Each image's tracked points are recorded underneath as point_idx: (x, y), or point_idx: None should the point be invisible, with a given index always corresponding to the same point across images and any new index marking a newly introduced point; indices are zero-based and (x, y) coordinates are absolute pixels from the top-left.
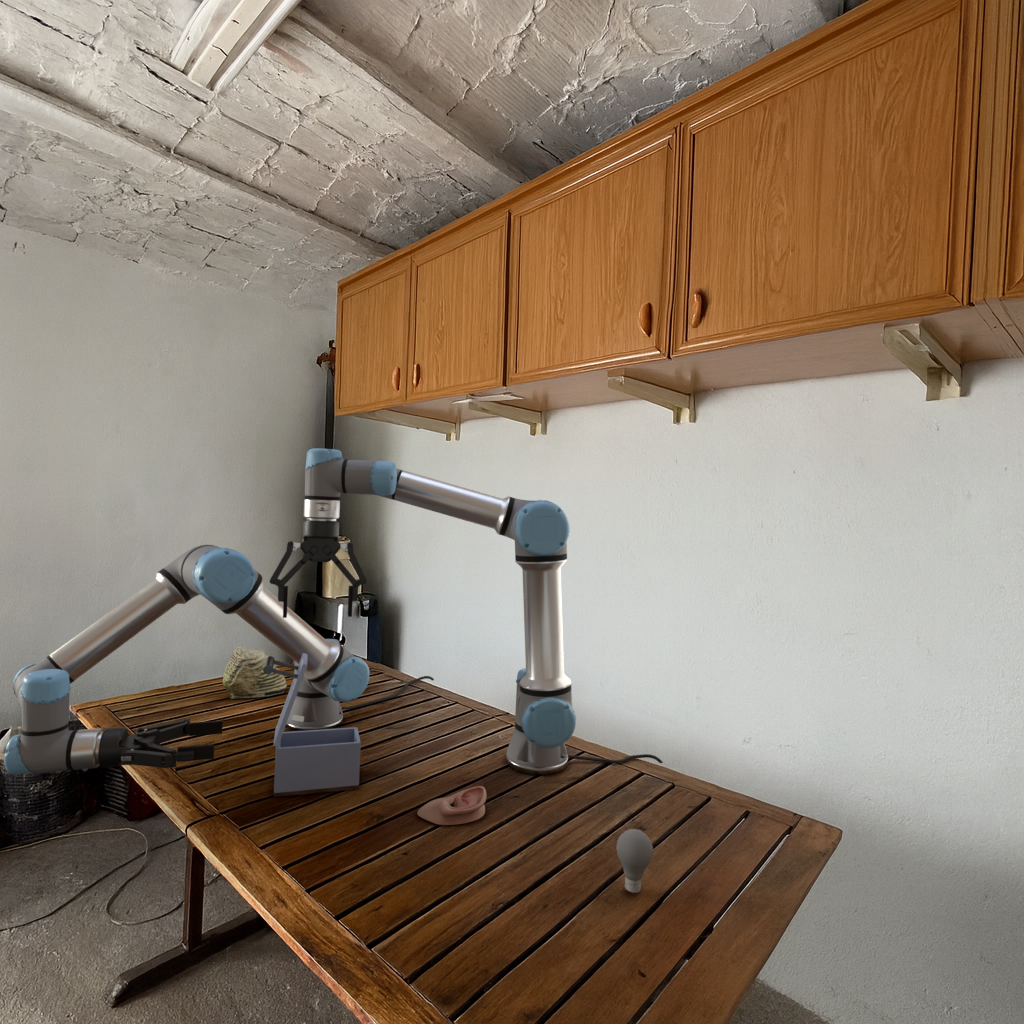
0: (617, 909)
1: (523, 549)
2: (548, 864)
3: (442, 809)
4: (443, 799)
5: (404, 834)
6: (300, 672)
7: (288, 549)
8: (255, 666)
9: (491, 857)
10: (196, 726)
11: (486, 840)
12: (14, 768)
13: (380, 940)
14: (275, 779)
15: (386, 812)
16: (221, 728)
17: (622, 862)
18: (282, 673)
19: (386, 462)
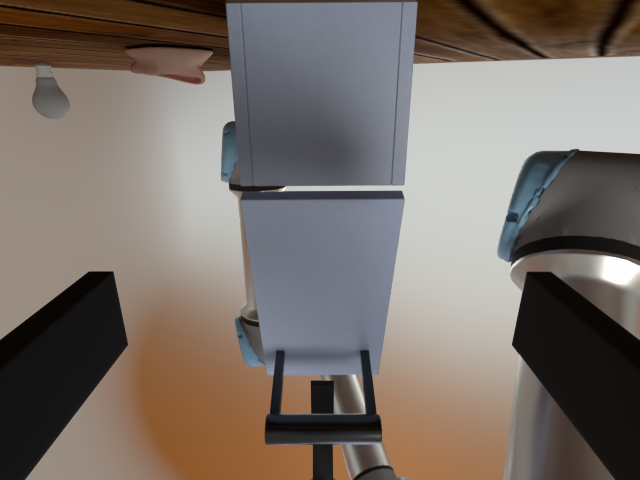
0: (4, 60)
1: (251, 331)
2: (64, 57)
3: (138, 72)
4: (176, 70)
5: (80, 40)
6: (265, 361)
7: None
8: None
9: (56, 52)
10: (628, 465)
11: (99, 52)
12: None
13: None
14: (231, 66)
15: (158, 37)
16: (521, 306)
17: (38, 94)
18: (272, 388)
19: None
